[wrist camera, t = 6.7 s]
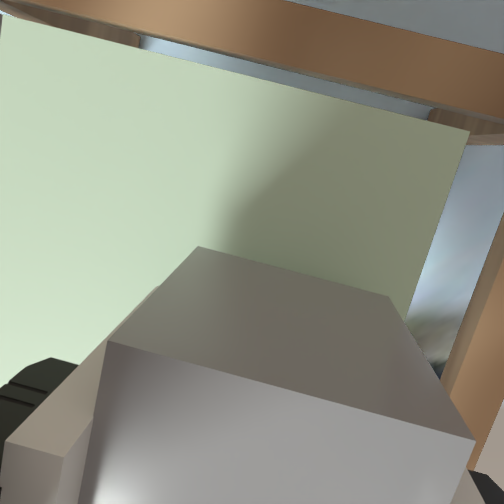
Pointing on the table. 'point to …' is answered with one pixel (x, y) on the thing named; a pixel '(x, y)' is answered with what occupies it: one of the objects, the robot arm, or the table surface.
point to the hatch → (190, 184)
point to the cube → (269, 397)
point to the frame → (355, 75)
